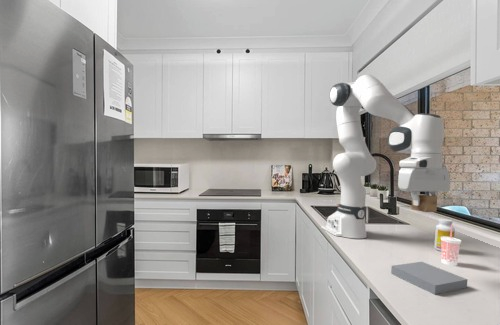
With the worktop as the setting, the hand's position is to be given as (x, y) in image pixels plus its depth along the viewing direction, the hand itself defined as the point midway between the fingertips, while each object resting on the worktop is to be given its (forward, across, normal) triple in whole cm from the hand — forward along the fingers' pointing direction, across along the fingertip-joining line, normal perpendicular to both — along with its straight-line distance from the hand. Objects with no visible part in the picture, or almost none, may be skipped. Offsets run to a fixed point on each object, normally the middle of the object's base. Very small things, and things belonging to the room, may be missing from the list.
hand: (423, 205), depth 92 cm
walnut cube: (+2, 0, 0) cm, 2 cm away
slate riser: (+22, +4, +5) cm, 23 cm away
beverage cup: (+22, -19, -3) cm, 29 cm away
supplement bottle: (+22, -33, -14) cm, 42 cm away
